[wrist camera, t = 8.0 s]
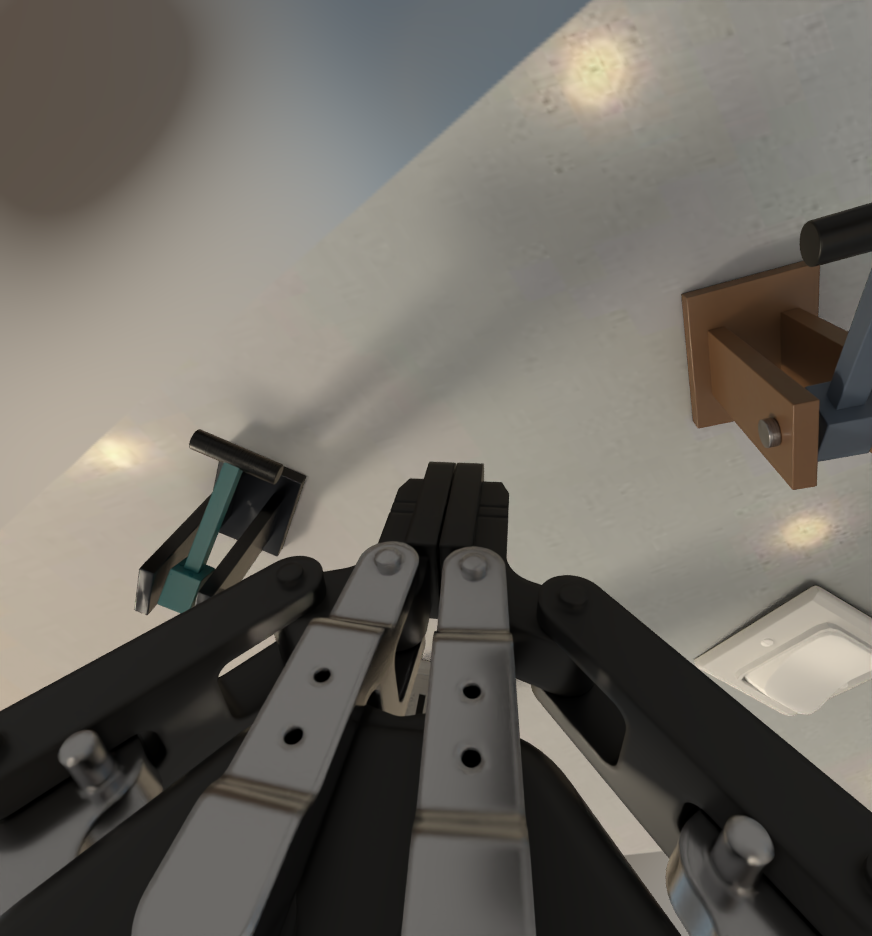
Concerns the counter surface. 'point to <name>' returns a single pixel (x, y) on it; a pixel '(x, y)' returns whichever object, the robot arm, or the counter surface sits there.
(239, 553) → the far bracket
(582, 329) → the counter surface
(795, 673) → the light switch
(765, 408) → the near bracket
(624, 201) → the counter surface
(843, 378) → the near lever
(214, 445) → the far lever
